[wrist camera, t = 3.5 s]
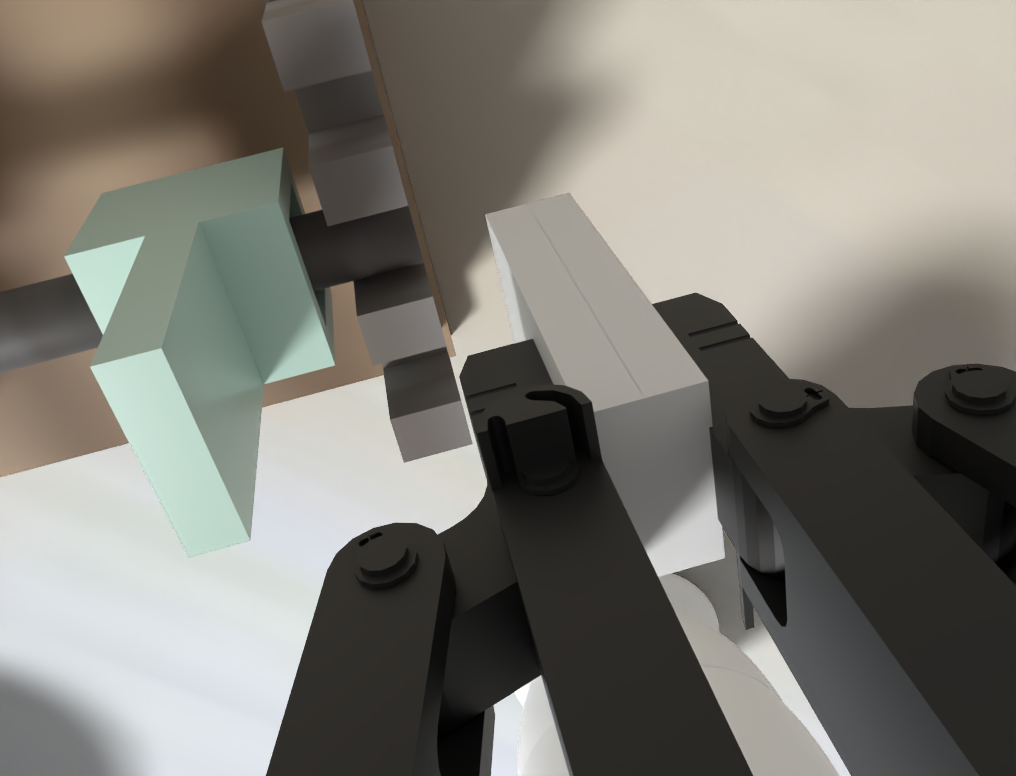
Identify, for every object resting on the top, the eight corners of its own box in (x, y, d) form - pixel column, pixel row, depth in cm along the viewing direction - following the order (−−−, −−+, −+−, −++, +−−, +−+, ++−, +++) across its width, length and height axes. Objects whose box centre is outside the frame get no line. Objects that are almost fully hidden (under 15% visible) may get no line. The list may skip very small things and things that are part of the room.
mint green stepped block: (283, 147, 20) (267, 320, 13) (332, 292, 22) (342, 515, 15) (101, 193, 20) (-19, 395, 13) (166, 336, 22) (94, 583, 15)
